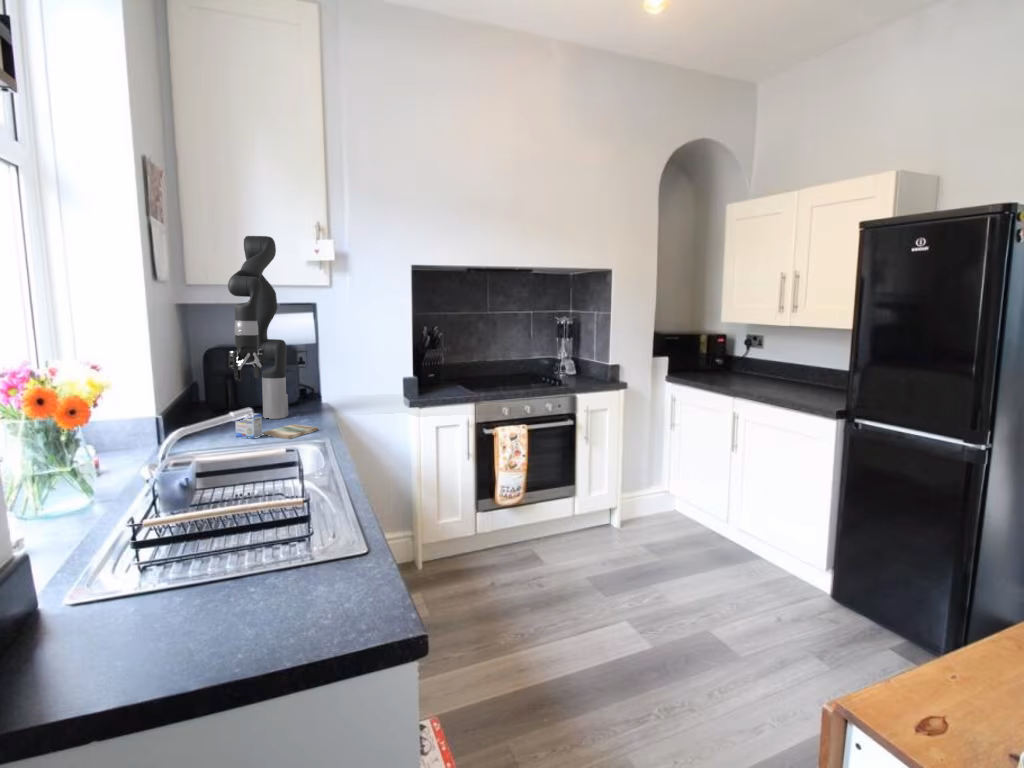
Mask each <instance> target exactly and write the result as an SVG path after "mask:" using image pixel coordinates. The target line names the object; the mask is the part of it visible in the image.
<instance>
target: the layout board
mask: <svg viewBox="0 0 1024 768" xmlns="http://www.w3.org/2000/svg"><path fill="white" fill-rule="evenodd" d="M317 430H318V431H319V427H316V426H310V425H309V426H308V425H301V424H295V423H294V424H289V425H285V426H281V427H277V428H274V429H270V430H265V431H262V434H264V435H270V436H274V437H273V438H278V437H279V439H287V440H290V439H293V438H297V437H301V436H303V435H307V433H308V434H310V433H314V431H315V432H317ZM270 436H269V437H270Z"/></svg>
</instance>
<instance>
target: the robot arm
mask: <svg viewBox="0 0 1024 768" xmlns="http://www.w3.org/2000/svg"><path fill="white" fill-rule="evenodd" d="M243 251H244V255H245V260H244V262H243V264H242V265H241V267H240V269H239V270H238V271H236V272H235V273H234V274H233V275H231V276H230V278H229V280H228V282H227V289H228V292H229V293H230V294H231V295H232V296H234V297H243V298H244V297H245V298H249V300H248V301H247V302H246V301H245V302H242V303H237V304H235V306H234V346H235V348H236V350H230V351H228V368H229V369H231V370H233V375H234V379H235V381H242V368H243V366H244V365H245V364H247V363H250V364H252V366H253V377H254V378H255V379H260V378H261V385H262V386H261V388H262V392H261V393H262V418H263V417H264V418H263V419H266V418H269V419H268V420H278V419H285V418H287V417H288V416H289V395H288V394H287V382H286V381H287V378H286V375H287V374H286V373H287V356H288V355H287V352H288V351H287V343H286V342H285V340H283V339H277V338H275V339H274V338H272V339H271V338H268V330H269V326H270V324H271V322H272V321H273V319H274V318H275V316H276V313H277V311H278V299H277V293H276V290H275V289H274V287H273V285H272V284H271V283H270V282H269V281H268V279H267V278H266V277H265V276H264V274H263V272H264V271H265V269H266V268H267V267H268V266H269V265H270V264H271V262H272V261H273V260H274V259H275V257H276V252H277V247H276V242H275V240H274V238H273V237H271V236H268V235H245V237H244V238H243ZM266 362H274V365H273V366H272V367H270V368H266V369H263V370H262V367H263V366H265V365H266ZM261 371H262V372H261Z"/></svg>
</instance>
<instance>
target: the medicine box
mask: <svg viewBox="0 0 1024 768" xmlns="http://www.w3.org/2000/svg"><path fill="white" fill-rule="evenodd" d="M253 413H254V417H253V418H252V419H243V420H240V421H235V438H238V437H250V438H255V437H258V436H262V437H263V435H262V432H263V425H262V424H263V422H262V420H263V413H262V414H261V413H255V412H253Z"/></svg>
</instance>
